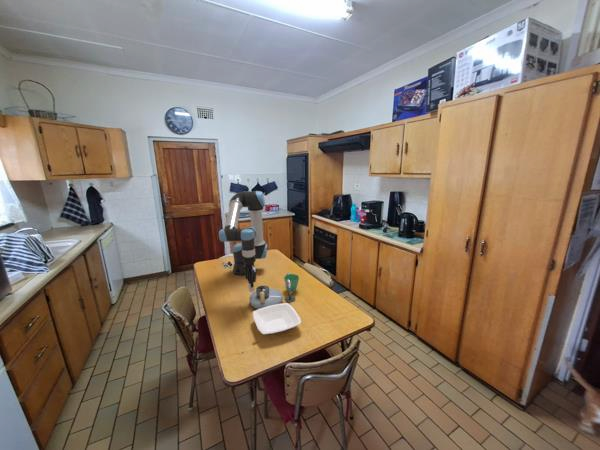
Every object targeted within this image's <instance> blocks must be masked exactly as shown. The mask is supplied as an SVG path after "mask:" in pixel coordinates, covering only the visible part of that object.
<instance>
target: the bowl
mask: <svg viewBox="0 0 600 450" xmlns="http://www.w3.org/2000/svg"><path fill="white" fill-rule="evenodd" d="M252 318H253V321H254V323H255V325H256V328H257V330H258V331H259V332H260V333H261V334H262V335H269V334H270V335H271V334H277V333H280V332H284V331H287V330H290V329H292V328H295V327H297V326H298V325H301V324H302V320H301V317H300V316H299V314H298V313H297V311H296V310H295V308H294V307H293V306H292V305H290V303H288V302H285V303H283V302H281V303H280V304H276V305H271V306H267V307H264V308H260V309H256V310H253V311H252Z"/></svg>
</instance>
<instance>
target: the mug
mask: <svg viewBox="0 0 600 450" xmlns="http://www.w3.org/2000/svg"><path fill="white" fill-rule="evenodd" d="M283 279H284V284H285V286H286V280H288V279H289V280H290V282H291V292H292V293H295V292H296V290H297V287H298V284H299V280H300V278H299V275H297V274H296V273H295V274H293V273H290V272H286V275H285V276H284V277H283ZM286 289H287V291H288V292H289V288H288V287H287V286H286Z"/></svg>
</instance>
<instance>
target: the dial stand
mask: <svg viewBox="0 0 600 450" xmlns="http://www.w3.org/2000/svg"><path fill="white" fill-rule="evenodd" d="M285 286H287V287H288V288H289V291H288V296H285V297H284V300H285V302H286V303H288V304H290V303H292V302H295V301H296V298H295V297H294V296H293V295H292V293H291V282H290V280H289V279H288V280H286V284H285ZM287 287H286V288H287Z"/></svg>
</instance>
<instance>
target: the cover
mask: <svg viewBox="0 0 600 450" xmlns="http://www.w3.org/2000/svg"><path fill="white" fill-rule="evenodd" d="M269 288H270V287H269V286H268V285H259V286H257V287H256V288H255V291H256V297H257V298H258V299H260V292H264V298H265V299H267V298H268V297H269V296H270V295H269Z"/></svg>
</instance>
